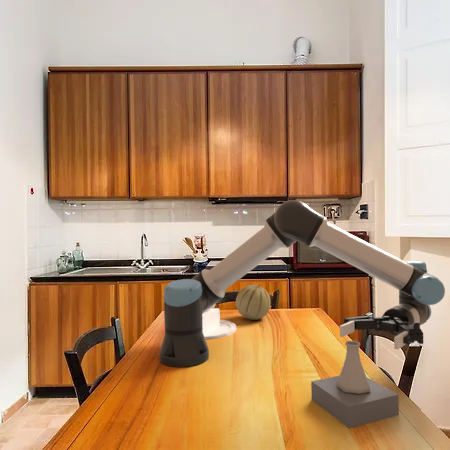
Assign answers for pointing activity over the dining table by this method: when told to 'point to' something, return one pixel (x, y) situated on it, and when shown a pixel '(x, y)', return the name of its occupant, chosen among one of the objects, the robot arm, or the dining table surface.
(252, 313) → the cantaloupe
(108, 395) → the dining table surface
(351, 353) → the flask
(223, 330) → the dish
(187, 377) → the dining table surface
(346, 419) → the riser block
